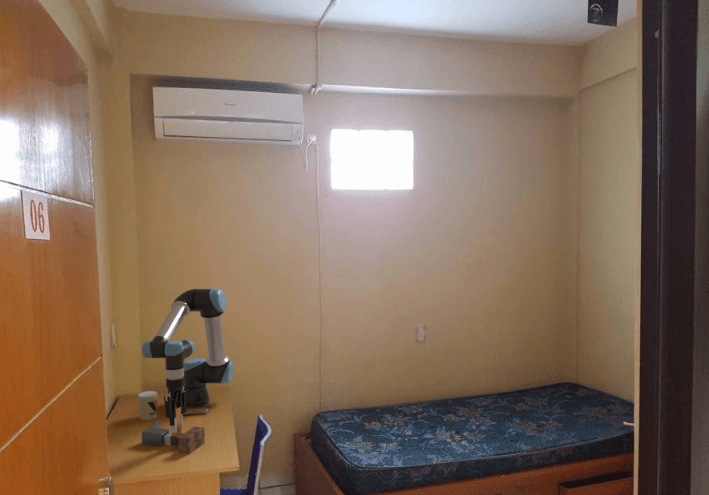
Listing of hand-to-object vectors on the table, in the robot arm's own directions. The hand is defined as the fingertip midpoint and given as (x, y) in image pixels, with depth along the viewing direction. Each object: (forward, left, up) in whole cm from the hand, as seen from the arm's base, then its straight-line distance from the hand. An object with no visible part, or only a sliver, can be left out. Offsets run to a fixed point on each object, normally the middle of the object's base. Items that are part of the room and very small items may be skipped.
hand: (176, 430), depth 234 cm
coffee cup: (-26, -35, -7) cm, 44 cm away
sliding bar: (0, -5, -6) cm, 8 cm away
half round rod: (-12, -22, -8) cm, 26 cm away
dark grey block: (0, -11, -7) cm, 13 cm away
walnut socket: (0, +8, -7) cm, 10 cm away
